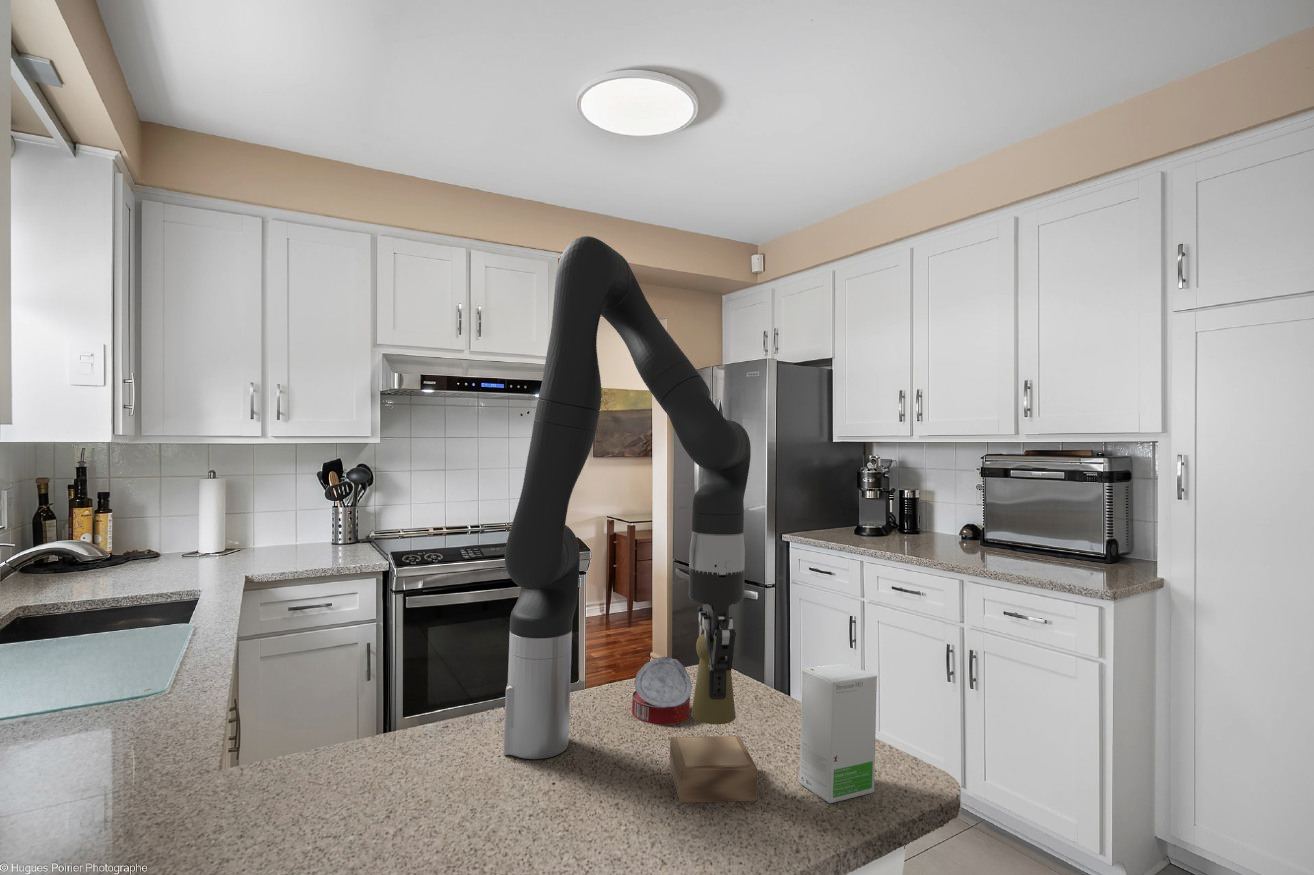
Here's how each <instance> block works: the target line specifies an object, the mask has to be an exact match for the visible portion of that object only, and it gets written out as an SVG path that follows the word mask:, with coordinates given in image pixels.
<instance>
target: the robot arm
mask: <svg viewBox="0 0 1314 875" xmlns="http://www.w3.org/2000/svg"><path fill="white" fill-rule="evenodd" d="M555 275H556V276H555V283H554V295H553V296H554V297H553V305H552V306H553V308H552V319H551V320H552V321H551V329H550V335H549V340H548V345H547V352H546V356H545V362H544V364H545V365H544V370H543V375H542V380H541V386H540V388H539V393H538V398H537V403H536V407H535V412H534V420H533V423H532V424H533V425H532V433H531V437H530V438H531V439H530V443H529V448H528V453H527V454H528V455H527V459H526V460H527V461H526V463H525V464H526V465H525V471H524V477H523V483H522V488H521V493H520V495H519V496H520V497H519V501H518V503H517V507H516V510H515V513H514V516H513V520H512V522H511V523H512V524H511V527H510V529H509V534H508V537H507V540H506V545H505V549H504V565H505V568H506V572H507V574H508V576H509V577H510V579H511V581H512V582H513V583H514V584H516V585H517V586H518V587H520V591H519V595H518V597H517V600H516V603H515V605H514V607H513V608H512V610H511V612H510V616H509V617H510V618H509V641H508V644H509V646H508V668H507V669H508V670H507V684H506V687H505V702H504V729H503V730H504V732H503V734H504V736H503V755H504V756H513V757H516V758H520V759H527V760H528V759H529V760H538V759H539V760H543V759H547V758H552V757H555V756H557V755H560V754H562V753H563V752H564V751H566V750H567V748H568V746H569V736H570V709H571V708H570V705H571V704H570V703H571V675H572V674H571V669H572V643H573V642H572V639H573V621H574V620H573V619H574V616H575V613H576V609H577V605H578V596H579V594H578V593H579V582H580V581H579V580H580V565H581V564H580V563H581V562H580V561H581V556H580V554H581V553H580V546H579V541H578V538H577V536H576V534H575V533H574V531H573V530H572V529H571V528H570V527H569V526H568V525H566V523H567V522H566V521H567V514H568V509H569V504H570V500H571V496H572V493H573V491H574V489H575V487H576V484H577V482H578V479H579V477H580V475H581V473H582V471H583V469H584V467H585V465H586V462H587V460H588V457H589V456H590V453H591V450H592V447H593V445H594V442H595V437H596V432H597V427H598V422H599V417H600V411H601V408H602V406H601V405H602V394H603V393H602V381H601V379H602V378H601V374H600V366H599V358H598V352H597V351H598V347H597V342H598V341H597V338H598V330H599V323H600V320H601V319H600V318H601V317H603V318H604V319H605V320H606V321H607V322H608V323H609V324H610V326H611V327H613V329H614V330H615V331H616V332H617V333H618V335H619V336H620V338H621V340H622V341H623V342H624V344H625V345H626V347H627V350H628V351H629V354H630V357H631V358H632V361H633V363H634V366H635V368H636V370H637V372H638V374H639V375H640V378H641V379H642V381H643V383H644V385H645V386H646V387H647V389H648V390H649V392H650V393H651V395H653V396H652V397H654V398H655V400H656V401H657V403H658V404H659V405H660V407H661V409H663V411H664V412H665V414H666V415H667V416H668V418H669V420H670V423H671V426H672V427H673V429H674V431H675V434H676V436H677V439H678V440H679V442H680V444H681V446H682V447H683V449H684V451H685V452H686V453H687V455H688V456H689V457H690V459H691V460H692V461H693V462H694V463H695V464H696V465H698V466H699V467H700V468H702V475H701V483H700V486H699V488H698V490H697V491H696V492H695V493H694V496H693V500H692V508H691V510H692V517H691V519H692V520H691V538H690V543H689V544H690V545H689V554H688V555H689V556H688V558H689V560H688V562H689V563H688V564H689V565H688V566H689V567H688V568H689V569H688V597H689V600H691V601H692V602H694V603H697V604H699V605H700V604H701V605H702V606H698V607H697V615H698V617H697V618H698V637H699V636H700V635H702V634H704V637H705V650H706V651H707V652H708V653H709V664H708V668H709V697H710V698H711V699H724V698H725V697H726V672H727V671H731V672H732V669H733V661H734V654H733V653H734V652H735V644H736V635H737V632H736V630H735V629H734V623H733V622H734V621H733V620H734V619H733V616H730V610H729V609H730V606H732V605H738V604H740V603H742V602H743V600H744V598H745V568H746V567H745V563H746V562H745V561H746V560H745V558H746V555H745V554H746V550H745V549H746V548H745V540H744V539H745V538H744V537H745V536H744V529H745V527H744V526H745V525H744V522H745V506H744V505H745V504H744V498H745V494H746V493H745V492H746V489H747V483H748V479H749V478H748V477H749V472H750V466H751V465H750V464H751V455H752V454H751V452H752V451H751V448H752V447H751V440H750V437H749V434H748V432H747V431H746V428H744V427H743V425H741V424H740V423H739V422H737V421H734V420H731V419H726V418H725V417H724V416H723V414H722V413H721V412H720V410H719V409H718V408H717V406H716V405H715V403H714V402H713V399H711V398H710V396H711V391H710V389H709V387H708V385H707V382H706V381H705V380H704V378H703V377H702V376H701V374H700V373H699V371H698V370H697V369H696V368H695V366H694V364H692V362H691V361H690V359H689V358H688V357H687V356H686V354H685V353H684V352H683V350H682V349H681V348H680V346H679V345H678V344H677V343H676V341H675V340H674V338H673V337H672V336H671V335H670V333H668V331H667V330H666V328H665V327H664V326H663V324H662V323H661V321H660V320H659V318H658V317H657V316H656V314H655V312H654V310H653V308H652V307H651V305H650V304H649V302H648V300H647V298H646V296H645V294H644V292H643V290H642V288H641V286H640V285H639V284H640V283H639V282H638V280H637V278H636V276H635V274H634V272H633V270H632V268H631V266H630V265H629V262H628V261H627V259H625V258H624V256H623V255H622V254H621V253H619V252H618V251H617V250H615V249H614V248H612V247H611V246H610V245H608V244H607V243H606V242H604V241H602V240H601V239H598V238H596V237H594V236H589V235H585V236H581V237H577V238H575V239H573V240H572V241H571V242H570V243H569V244H568V245H567V246H566V247H565V248H564V251H563V252H562V254H561V256H560V258H559V261H558V264H557V268H556V273H555ZM710 641H711V642H714V645H713V646H712V645H711V644H710ZM719 656H724V660H723V661H718V657H719Z"/></svg>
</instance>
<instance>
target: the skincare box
mask: <svg viewBox="0 0 1314 875" xmlns="http://www.w3.org/2000/svg"><path fill="white" fill-rule="evenodd" d="M801 674H802V675H801V677H802V684H801V708H800V709H801V711H800V712H801V716H800V717H801V720H800V743H799V745H800V746H799V747H800V748H799V774H798V775H799V776H798V778H799V780H798V782H799V784H800V785H802V786H803V787H804V788H805V789H808V791H810V792H812V794H814V795H816V796H817V797H819V798H821V799H822V800H823V801H825V802H827V803H828V804H833V803H837V802H841V801H845V800H849V799H852V798H856V797H857V798H858V797H860V796H864V795H867V794H868V795H869V794H873V793H874V792H875V776H876V774H875V771H876V770H875V769H876V768H875V767H876V764H875V763H876V733H877V732H876V730H877V729H876V728H877V725H876V724H877V722H876V721H877V691H878V690H877V689H878V688H877V687H878V686H877V685H878V684H877V683H878V675H877V674H874V673H873V672H869V671H866V670H865V669H864V670H863V669H862V668H858V667H856V666H853V665H851V664H848V663H838V664H822V665H819V666H811V667H802V669H801Z"/></svg>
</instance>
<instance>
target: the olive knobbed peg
mask: <svg viewBox="0 0 1314 875" xmlns="http://www.w3.org/2000/svg"><path fill="white" fill-rule="evenodd" d="M695 644H696V645H695V649H696V653H697V656H698V658H699V663H698V669H697V674H696V681H695V682H696V683H695V688H694V693H693V694H694V696H693V701H692V706H691V707H692V708H691V717H692V718H693V719H694V720H696V721H697V722H700V723H703V724H709V725H726V724H730V723H732V722H734V721H735V720H736V718H737V717H736V708H735V698H734V688H733V687H734V686H733V678H732V670H731V671H727V672H726V697H725V698H724V699H711V698H710V697H709V668H708V664H709V653H708V652H707V651H706V650H705V637H704V634H702V635H700V636H699V635H698V638H697V639H696V643H695ZM710 644H711V645H712V646H713V645H714V642H711V641H710ZM733 655H734V653H733ZM723 660H724V656H719V657H718V661H723Z"/></svg>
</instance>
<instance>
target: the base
mask: <svg viewBox="0 0 1314 875" xmlns="http://www.w3.org/2000/svg"><path fill="white" fill-rule="evenodd" d="M669 738H670V742H669V743H670V744H669V745H670V746H669V768H670V772H671V775H672V780H673V782H674V787H675V790H676V794H677V797H678V801H679V803H680V804H682V803H683V804H685V803H687V804H690V803H719V802H721V803H722V802H724V803H725V802H754V801H756V802H757V800H758V773H759V772H758V770H759V769H758V767H757V765H756V764H755V761H754V760H753V758H752V757H751V755H750V753H749V751H748V749H747V747H746V745H745V743H744V741H743V739H742V738H741V736H740V735H721V736H720V735H718V736H717V735H716V736H715V735H713V736H711V735H710V736H670V737H669Z"/></svg>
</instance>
